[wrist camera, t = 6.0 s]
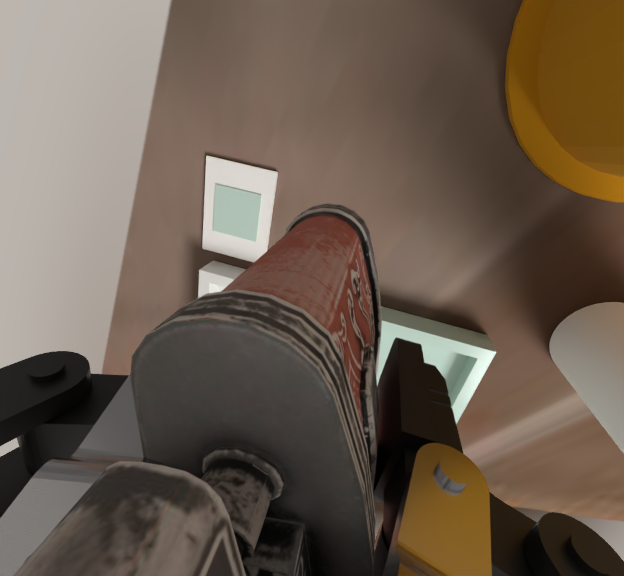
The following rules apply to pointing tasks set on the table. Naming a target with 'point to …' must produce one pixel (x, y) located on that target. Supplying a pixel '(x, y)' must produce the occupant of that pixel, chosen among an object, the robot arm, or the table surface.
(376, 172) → the table surface
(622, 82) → the spool
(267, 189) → the card
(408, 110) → the table surface
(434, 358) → the green tray
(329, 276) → the lighter
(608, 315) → the cylindrical container
